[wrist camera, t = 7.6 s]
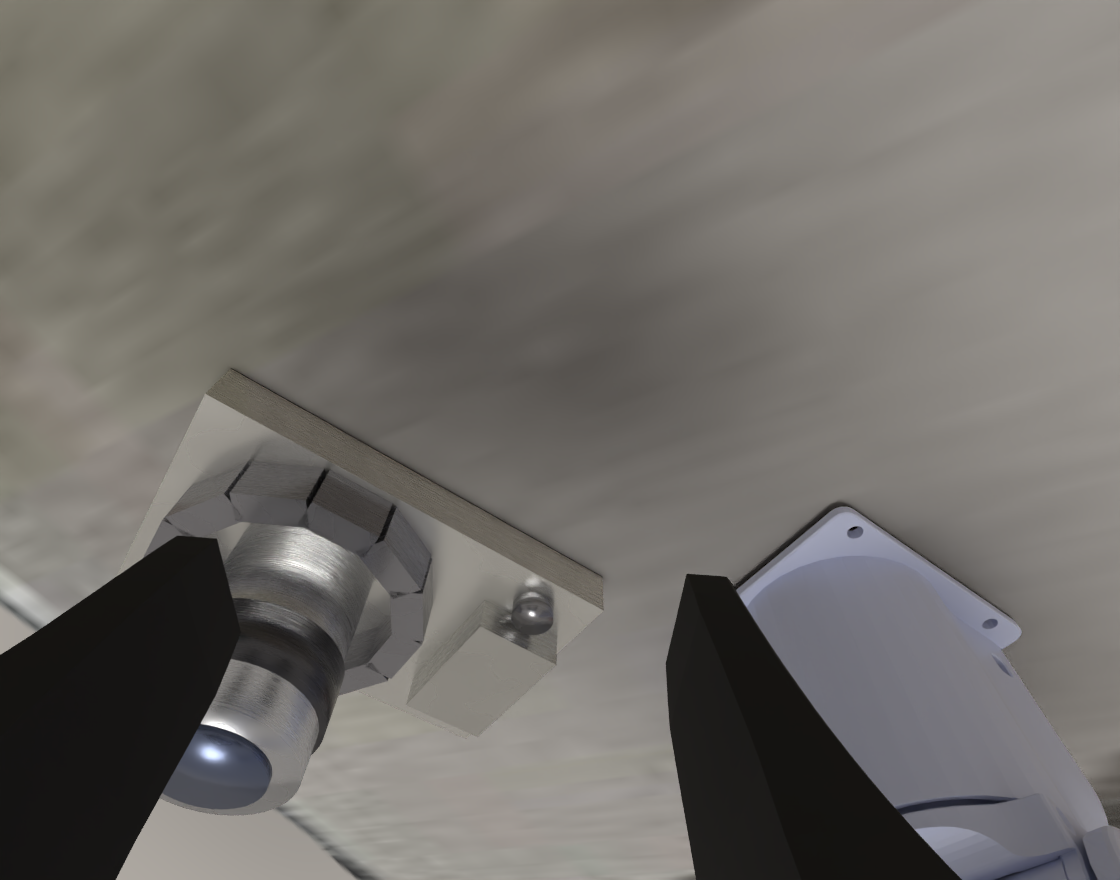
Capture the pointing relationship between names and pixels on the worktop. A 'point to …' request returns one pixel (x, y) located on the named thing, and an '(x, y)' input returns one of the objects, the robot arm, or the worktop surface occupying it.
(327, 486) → the octagonal collar plate
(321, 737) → the lens
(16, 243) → the worktop surface
